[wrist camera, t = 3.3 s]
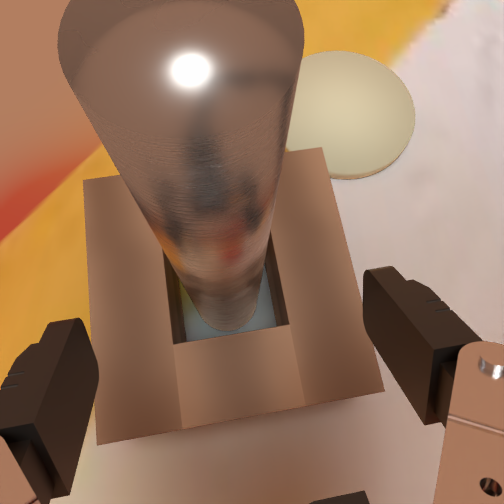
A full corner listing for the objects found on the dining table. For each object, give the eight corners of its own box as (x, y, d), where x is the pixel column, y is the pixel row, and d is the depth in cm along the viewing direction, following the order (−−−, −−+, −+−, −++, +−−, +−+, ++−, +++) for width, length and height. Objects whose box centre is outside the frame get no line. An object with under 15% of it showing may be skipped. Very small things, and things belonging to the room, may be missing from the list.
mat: (388, 52, 35) (392, 43, 34) (427, 168, 31) (433, 161, 30) (258, 68, 34) (259, 59, 33) (285, 189, 30) (286, 182, 29)
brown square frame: (306, 192, 30) (322, 146, 25) (353, 390, 26) (385, 391, 20) (113, 220, 29) (82, 180, 24) (129, 432, 25) (97, 445, 19)
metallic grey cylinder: (251, 267, 28) (278, -67, 8) (261, 325, 27) (328, 118, 6) (193, 276, 28) (54, -44, 7) (201, 335, 27) (61, 154, 6)
